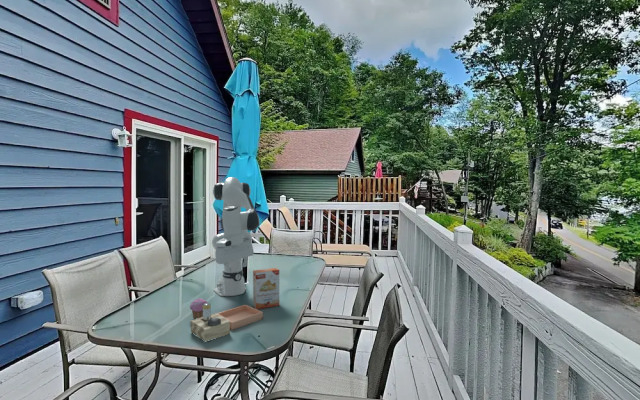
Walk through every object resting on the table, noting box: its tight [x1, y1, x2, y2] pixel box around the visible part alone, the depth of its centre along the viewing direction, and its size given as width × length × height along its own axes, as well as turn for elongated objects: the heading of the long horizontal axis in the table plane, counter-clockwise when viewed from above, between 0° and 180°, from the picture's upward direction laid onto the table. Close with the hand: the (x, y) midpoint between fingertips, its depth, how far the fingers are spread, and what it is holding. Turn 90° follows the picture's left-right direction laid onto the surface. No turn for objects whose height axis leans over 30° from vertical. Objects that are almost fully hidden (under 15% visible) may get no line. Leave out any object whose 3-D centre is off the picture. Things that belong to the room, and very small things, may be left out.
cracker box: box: [252, 267, 280, 310], centre depth 188 cm, size 14×6×21 cm, turn 118°
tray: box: [215, 304, 264, 331], centre depth 170 cm, size 16×18×4 cm
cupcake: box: [189, 297, 209, 319], centre depth 172 cm, size 9×9×10 cm
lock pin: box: [203, 302, 212, 322], centre depth 156 cm, size 4×4×13 cm
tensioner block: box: [190, 313, 231, 341], centre depth 154 cm, size 14×12×7 cm
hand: (236, 269), depth 159 cm, fingers open, 8 cm apart
